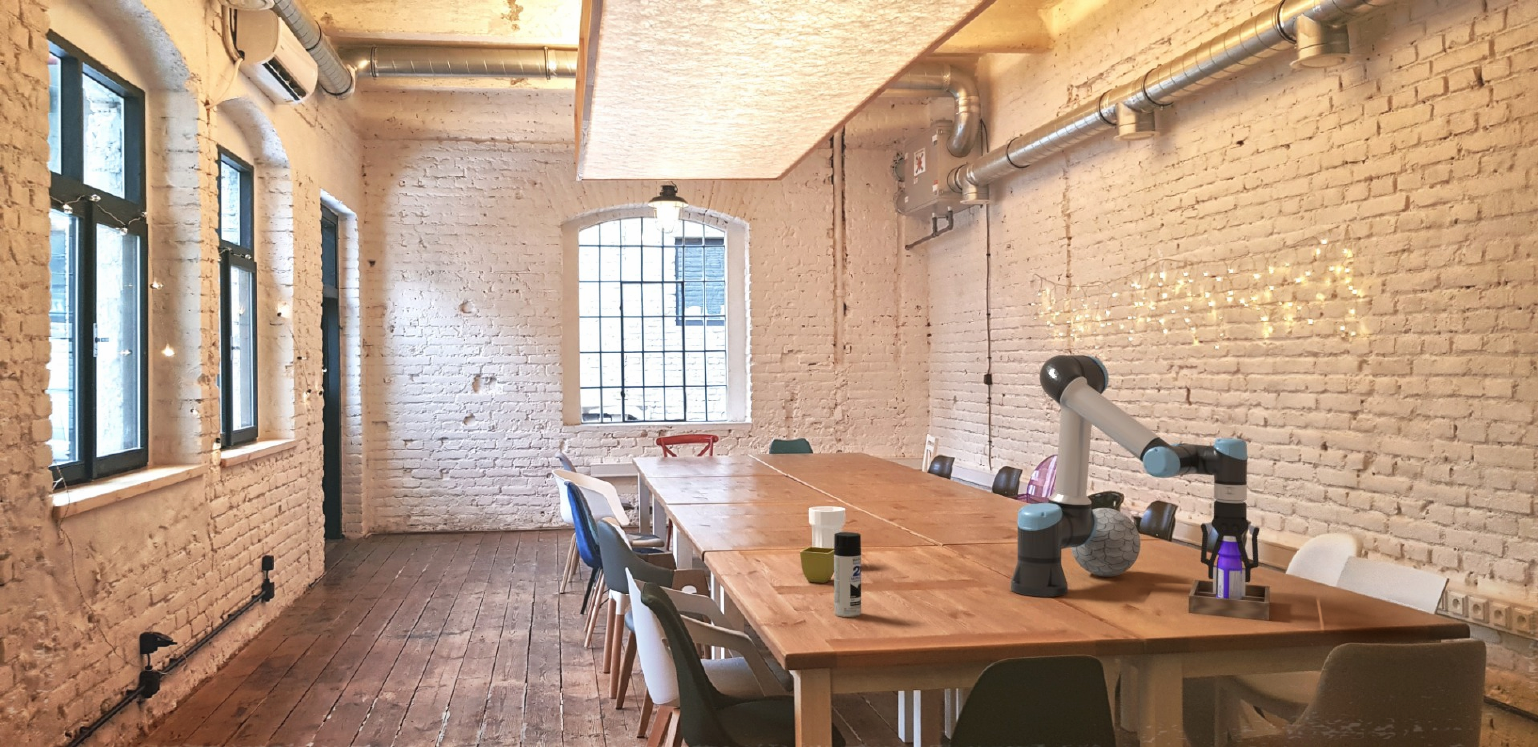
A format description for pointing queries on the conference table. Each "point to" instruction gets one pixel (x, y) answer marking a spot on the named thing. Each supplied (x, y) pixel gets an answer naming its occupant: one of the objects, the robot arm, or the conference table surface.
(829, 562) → the flower pot
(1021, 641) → the conference table surface
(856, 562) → the spray can
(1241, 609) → the crate
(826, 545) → the cup
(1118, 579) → the conference table surface
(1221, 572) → the bottle
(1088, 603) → the conference table surface
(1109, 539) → the decorative sphere
